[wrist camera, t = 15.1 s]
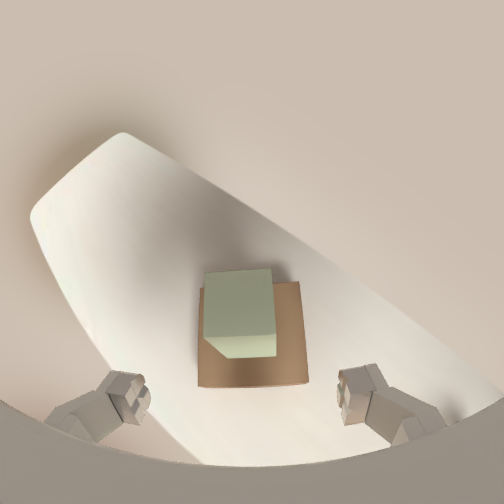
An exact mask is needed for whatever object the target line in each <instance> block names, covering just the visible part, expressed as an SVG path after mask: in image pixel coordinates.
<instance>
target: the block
mask: <svg viewBox="0 0 504 504" xmlns="http://www.w3.org/2000/svg"><path fill="white" fill-rule="evenodd" d="M203 338H204V339H205V340H207V341H208V342H209V343H210V344H211V345H212V346H213V347H215V348H216V349H217V350H218V351H219V352H220V353H222V354H223V355H224V356H225V357H226V358H254V357H271V356H276V322H275V308H274V294H273V281H272V268H266V269H252V270H238V271H223V272H207V273H205V286H204V315H203Z"/></svg>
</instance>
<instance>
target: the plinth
mask: <svg viewBox="0 0 504 504" xmlns="http://www.w3.org/2000/svg"><path fill="white" fill-rule="evenodd" d="M273 294H274V308H275V322H276V356H271V357H254V358H226V357H225V356H224V355H223V354H222V353H220V352H219V351H218V350H217V349H216V348H215V347H213V346H212V345H211V344H210V343H209V342H208V341H207V340H205V339H204V338H203V315H204V288H200V304H199V334H198V387H204V388H256V387H275V386H289V385H300V384H306V383H308V382H309V377H308V364H307V352H306V341H305V331H304V321H303V311H302V302H301V293H300V285H299V281H298V282H285V283H273Z"/></svg>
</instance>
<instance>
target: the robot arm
mask: <svg viewBox="0 0 504 504" xmlns="http://www.w3.org/2000/svg"><path fill="white" fill-rule="evenodd" d="M338 378H339V381H340V383H339V384H338V385H337V401H338V405H339V407H340V408H342V412H341V416H342V419H343V423H344V426H346V425H352V424H358V423H364V422H365V424H366V425H368V426H369V427H370V428H371V429H373V430H374V431H375V432H376V433H378V434H379V435H380V436H382V437H383V438H384V439H385V440H387V441H388V442H389V443H391V446H390V447H389V448H386V449H382V450H378V451H374V452H370V453H366V454H362V455H357V456H352V457H347V458H342V459H336V460H330V461H323V462H316V463H308V464H298V465H286V466H267V467H233V466H213V465H201V464H192V463H184V462H176V461H170V460H163V459H158V458H152V457H147V456H143V455H138V454H134V453H129V452H126V451H122V450H118V449H114V448H111V447H107V446H104V445H101V444H97V443H98V442H99V441H100V440H102V439H103V438H104V437H106V436H107V435H109V434H110V433H111V432H113V431H114V430H115V429H117V428H118V427H119V426H121V425H122V424H123V423H128V424H134V425H140V423H141V422H142V420H143V418H144V415H145V414H144V412H143V411H145V410H146V409H148V407H149V405H150V401H151V396H150V392H149V389H148V388H147V387H146V386H145V385H144V383H145V379H144V377H143V375H141V374H136V373H129V372H121V371H115V370H112V371H110V372H109V374H108V375H107V376H106V378H105V379H104V380H103V382H102V383H101V384H100V386H99V387H98V388H97V390H96V391H94V390H93V391H91V392H88V393H86V394H84V395H82V396H80V397H78V398H76V399H74V400H71V401H69V402H67V403H65V404H63V405H60V406H58V407H56V408H55V409H54V410H53V411H52V412H51V414H50V415H49V416H48V417H47V419H46V420H45V421H44V422H41V421H39V420H37V419H35V418H32V417H31V416H28V415H27V414H25V413H23V412H21V411H19V410H17V409H15V408H14V407H12V406H10V405H8V404H7V403H5V402H4V401H2V400H0V504H504V397H503V398H502V399H500V400H499V401H497V402H495V403H494V404H492V405H490V406H488V407H487V408H485V409H483V410H481V411H479V412H477V413H475V414H474V415H472V416H470V417H468V418H466V419H464V420H461V421H459V422H457V423H455V424H453V425H451V426H447V425H446V423H445V421H444V420H443V418H442V416H441V415H440V413H439V411H438V410H437V408H436V407H434V406H431V405H429V404H427V403H425V402H423V401H421V400H419V399H416V398H414V397H412V396H410V395H408V394H406V393H404V392H402V391H400V390H398V389H396V388H394V387H389V386H388V384H387V382H386V380H385V379H384V377H383V375H382V373H381V371H380V370H379V368H378V366H377V364H375V363H374V364H369V365H364V366H360V367H355V368H349V369H342V370H340V371H339V376H338Z"/></svg>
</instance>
